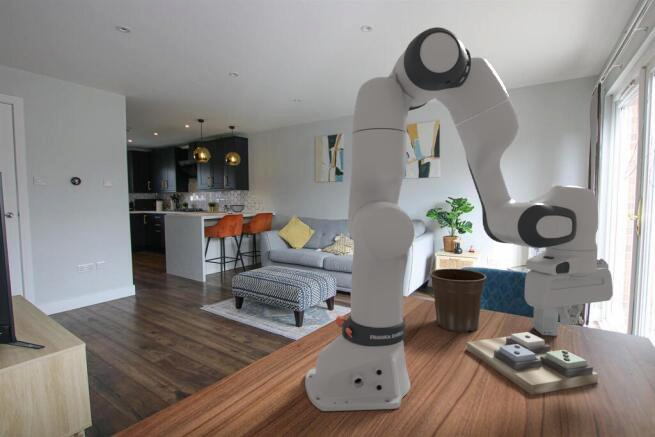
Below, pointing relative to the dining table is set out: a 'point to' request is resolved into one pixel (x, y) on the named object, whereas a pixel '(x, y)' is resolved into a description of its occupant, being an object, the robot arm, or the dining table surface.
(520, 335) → the one dot key
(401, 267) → the robot arm
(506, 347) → the two dot key
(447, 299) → the plant pot
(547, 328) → the skincare box
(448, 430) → the dining table surface
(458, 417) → the dining table surface
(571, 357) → the three dot key
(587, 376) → the key board
